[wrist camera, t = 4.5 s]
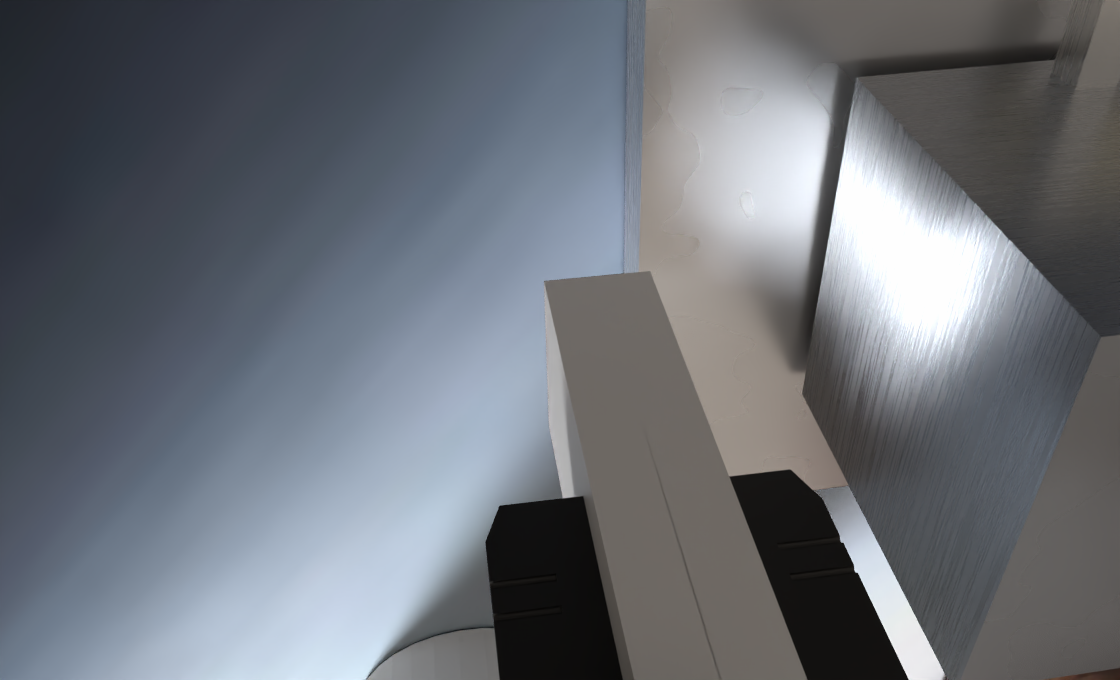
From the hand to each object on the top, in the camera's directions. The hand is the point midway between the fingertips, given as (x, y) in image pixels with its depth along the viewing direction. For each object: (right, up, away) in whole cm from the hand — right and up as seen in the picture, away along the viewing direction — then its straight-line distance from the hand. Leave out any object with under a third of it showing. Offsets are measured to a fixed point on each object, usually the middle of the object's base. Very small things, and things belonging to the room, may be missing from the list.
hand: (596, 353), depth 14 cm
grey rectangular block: (+7, +3, +1) cm, 7 cm away
